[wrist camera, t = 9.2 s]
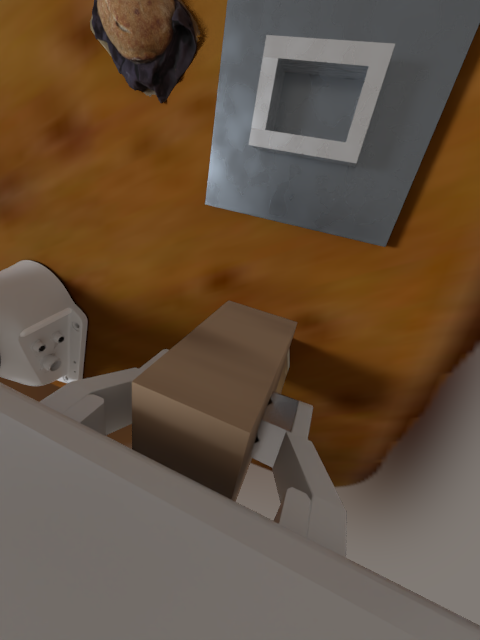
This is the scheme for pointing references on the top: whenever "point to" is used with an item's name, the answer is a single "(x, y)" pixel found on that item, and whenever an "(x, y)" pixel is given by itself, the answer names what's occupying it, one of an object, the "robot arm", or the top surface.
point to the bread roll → (147, 41)
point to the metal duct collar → (332, 107)
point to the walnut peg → (211, 396)
